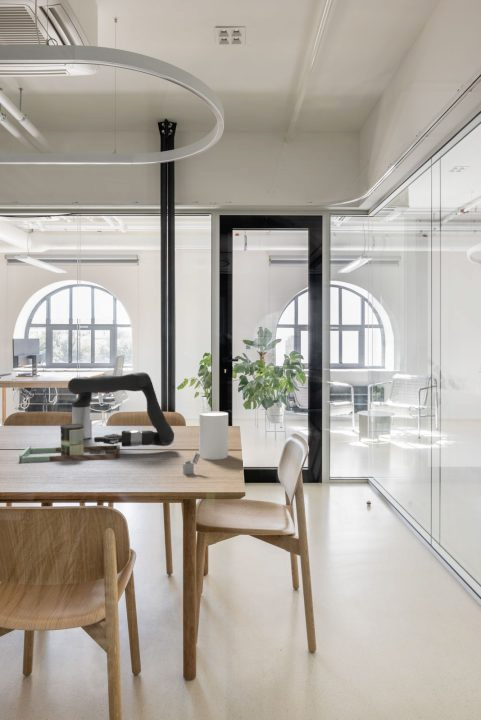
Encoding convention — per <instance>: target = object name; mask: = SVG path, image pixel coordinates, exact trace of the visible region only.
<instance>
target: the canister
mask: <svg viewBox="0 0 481 720" xmlns="http://www.w3.org/2000/svg"><path fill="white" fill-rule="evenodd" d="M198 417H199V419H198V421H199V422H198V423H199V424H198V425H199V426H198V433H199V434H198V454H200V457H199V459H200V458H201V459H203V460H214V461H215V460H223V459H227V458H228V456H229V413H228V412H226V411H218V410H217V411H202V412H199V413H198Z"/></svg>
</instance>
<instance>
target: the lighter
mask: <svg viewBox="0 0 481 720" xmlns="http://www.w3.org/2000/svg"><path fill="white" fill-rule="evenodd" d="M199 460H200V454H199V452H196V453H195V455H194V456H193V459H192V461H191V460H185V461H184V462H183V463H182V474H183V476H185V475H192V474H194V468H195V467H194V466H195V465H197V464H198V462H199ZM194 464H195V465H194Z"/></svg>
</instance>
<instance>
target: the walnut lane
mask: <svg viewBox="0 0 481 720" xmlns="http://www.w3.org/2000/svg"><path fill="white" fill-rule="evenodd" d="M120 447H121V445H120V444H119V445H118V444H113V445H112V444H109V445H87V446H84V445H83V452H90V451H100V450H101V451H105V450H116V453H113V454H105V453H100V454H89V453H88V454H84V455H62V456H61V455H49V456H50V461H49V462H58V461H61V462H62V461H81V460H84V461H85V460H86V461H87V460H108V459H119V455H120V450H121V448H120ZM55 453H61V446H59V447H57V446H56V452H55ZM18 458H19V457H18ZM19 459H20V462H19V463H22V462H21V458H19Z"/></svg>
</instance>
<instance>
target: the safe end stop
mask: <svg viewBox="0 0 481 720" xmlns="http://www.w3.org/2000/svg"><path fill="white" fill-rule="evenodd" d="M56 447H57V446H56ZM56 447H55V446H54V447H53V446H50V447H32V446H31V445H29V446H27V447H26V448H25V449H24V450H23V451H22V452H21V453H20V454H19V456H18V458H21V462H20V459H19V461H18V462H19V463H33V462H34V463H36V462H38V463H39V462H51V461H50V456H51V455H34V456H30V454H41V453H57V452H56Z"/></svg>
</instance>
